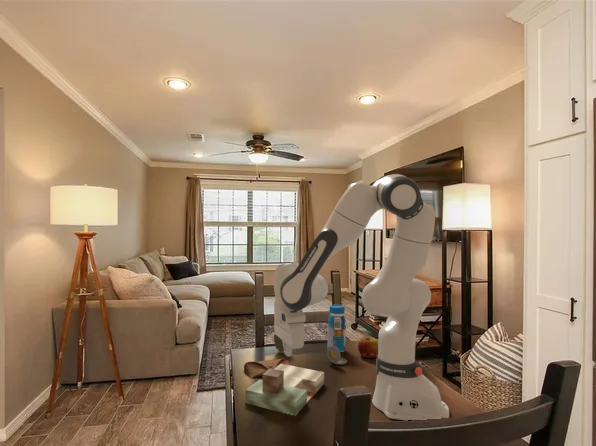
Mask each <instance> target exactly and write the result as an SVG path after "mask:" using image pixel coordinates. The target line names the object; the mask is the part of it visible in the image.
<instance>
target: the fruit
mask: <svg viewBox="0 0 596 446" xmlns="http://www.w3.org/2000/svg"><path fill="white" fill-rule="evenodd" d="M357 350H358V352H359V354H360V355H361V356H362V357H363V358H365V359H374V358H377V356H378V340H377V338H374V337H372V336H365V337H362V338H361V339H360V340H358V342H357Z"/></svg>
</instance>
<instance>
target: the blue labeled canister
mask: <svg viewBox="0 0 596 446" xmlns="http://www.w3.org/2000/svg"><path fill="white" fill-rule="evenodd" d="M345 309H346V308H345V305H344V304H343V305H342V304H330V305H329V313H330V314H329V316H328V319H327V322H328V323H327V328H326V329H327V349H328V348H329V347H330V346H332V345H334V344H333V343H334V342H335V341H336V342H335V343H336V344H335V346H336V347H337V348H338V349H339V351H340V352H342V353H344V352H345V351H346V330H347V325H346V323H347V320H346V317H345V316H344V314H345ZM331 340H332V342H333V343H332V342H331ZM333 340H335V341H333ZM327 349H326V350H327ZM331 352H332V351H331Z"/></svg>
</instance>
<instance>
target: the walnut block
mask: <svg viewBox="0 0 596 446" xmlns="http://www.w3.org/2000/svg"><path fill="white" fill-rule="evenodd" d="M262 380H263V386H262V391H265V392H270V393H276V394H278V393H279V391H280V390H281V389H282V388H283V385H284V371H281V370H275V369H268V370H267V371H266V372H265V373H264V374H263V377H262Z"/></svg>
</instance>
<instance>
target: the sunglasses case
mask: <svg viewBox="0 0 596 446" xmlns="http://www.w3.org/2000/svg"><path fill="white" fill-rule="evenodd" d="M280 364H285V365H290V366H291V364H290V361H289V358H288V357H284V358H279V359H267V360H259V361H248V362H245V363H244V366H243V371H244V373H245V374H246V376H247V377H248V378H249V379H250V380H252V379H258V378H263V374H264V373H265V372H266V371H267V370H268V369H275V368H276V367H277V366H279V365H280Z"/></svg>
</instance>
